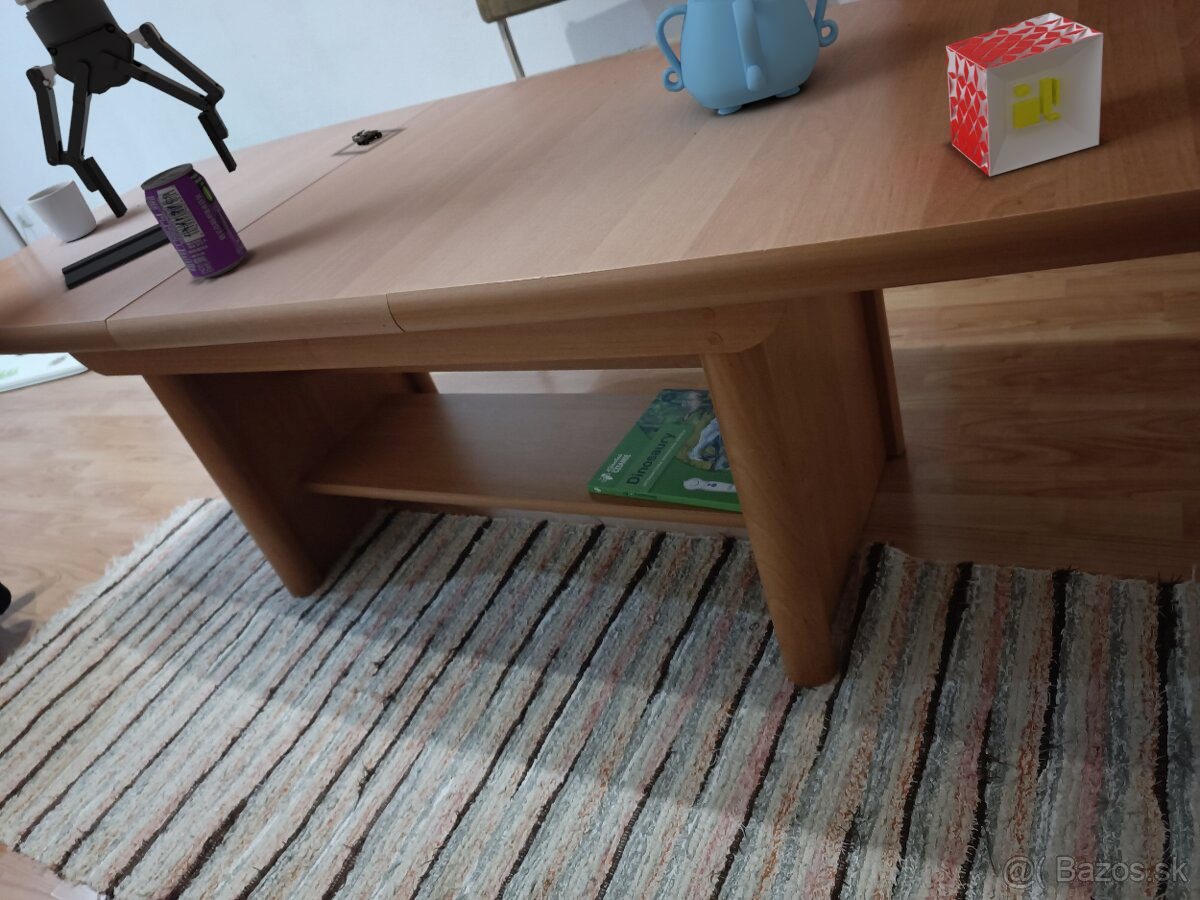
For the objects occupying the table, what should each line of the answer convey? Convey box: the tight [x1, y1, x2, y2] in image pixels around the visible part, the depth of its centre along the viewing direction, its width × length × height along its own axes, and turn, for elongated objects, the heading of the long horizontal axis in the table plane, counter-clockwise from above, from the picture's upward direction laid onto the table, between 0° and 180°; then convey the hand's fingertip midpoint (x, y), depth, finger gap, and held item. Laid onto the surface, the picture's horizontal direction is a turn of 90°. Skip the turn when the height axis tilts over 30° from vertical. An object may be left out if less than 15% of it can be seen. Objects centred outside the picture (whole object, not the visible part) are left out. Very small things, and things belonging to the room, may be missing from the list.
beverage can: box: [140, 162, 248, 279], centre depth 103 cm, size 7×7×12 cm
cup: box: [25, 179, 97, 243], centre depth 145 cm, size 11×8×8 cm
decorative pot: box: [654, 0, 839, 115], centre depth 94 cm, size 16×16×14 cm
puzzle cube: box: [945, 12, 1104, 177], centre depth 66 cm, size 8×8×8 cm
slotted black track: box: [61, 222, 171, 291], centre depth 126 cm, size 20×10×1 cm, turn 122°
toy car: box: [351, 128, 383, 147], centre depth 136 cm, size 3×4×2 cm, turn 143°
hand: (178, 191), depth 101 cm, fingers open, 13 cm apart
